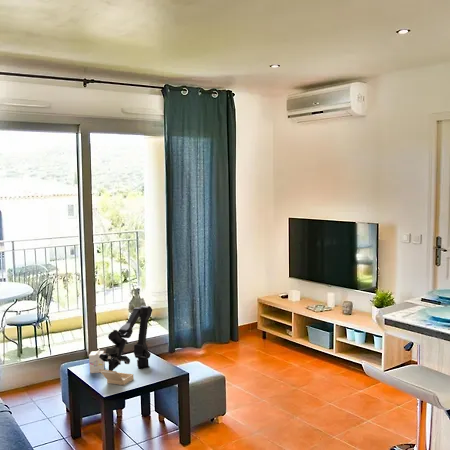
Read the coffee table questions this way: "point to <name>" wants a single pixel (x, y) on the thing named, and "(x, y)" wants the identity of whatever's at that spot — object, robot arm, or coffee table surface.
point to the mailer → (124, 376)
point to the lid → (111, 375)
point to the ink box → (96, 362)
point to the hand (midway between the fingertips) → (109, 372)
